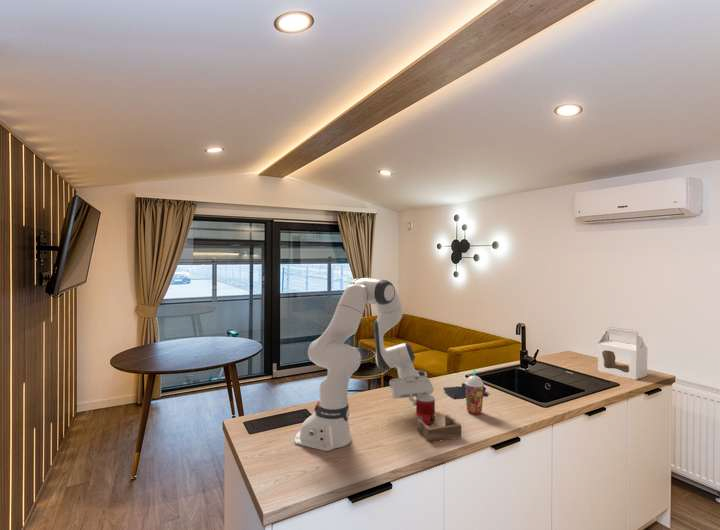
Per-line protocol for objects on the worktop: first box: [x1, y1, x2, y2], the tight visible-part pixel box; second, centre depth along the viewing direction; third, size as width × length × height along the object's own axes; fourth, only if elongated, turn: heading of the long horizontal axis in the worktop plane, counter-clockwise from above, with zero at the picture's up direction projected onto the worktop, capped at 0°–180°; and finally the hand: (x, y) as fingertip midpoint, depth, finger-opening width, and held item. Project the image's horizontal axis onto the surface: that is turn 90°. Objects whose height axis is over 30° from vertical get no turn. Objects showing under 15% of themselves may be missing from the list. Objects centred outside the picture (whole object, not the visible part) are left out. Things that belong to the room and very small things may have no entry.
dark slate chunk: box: [443, 382, 489, 400], centre depth 204 cm, size 15×22×5 cm
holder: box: [416, 414, 462, 443], centre depth 157 cm, size 11×14×5 cm
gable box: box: [597, 326, 648, 380], centre depth 237 cm, size 22×13×28 cm, turn 31°
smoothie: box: [464, 369, 485, 416], centre depth 178 cm, size 8×8×20 cm
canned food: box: [415, 394, 436, 427], centre depth 168 cm, size 8×8×11 cm
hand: (417, 404), depth 176 cm, fingers closed
